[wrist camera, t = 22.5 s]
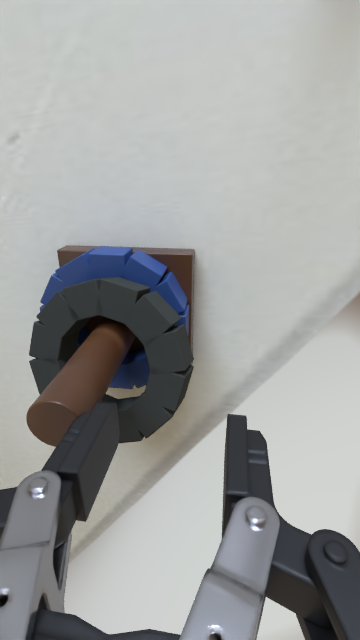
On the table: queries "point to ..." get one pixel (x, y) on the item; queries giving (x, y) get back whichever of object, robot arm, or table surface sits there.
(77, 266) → the navy ring
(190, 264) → the stand
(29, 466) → the table surface
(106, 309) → the charcoal ring
